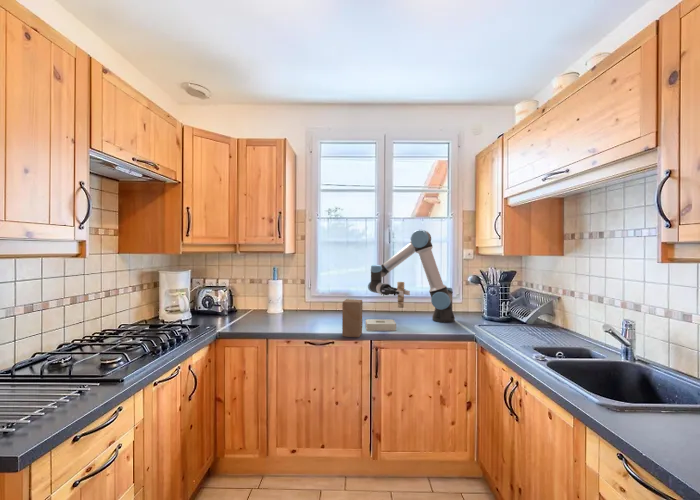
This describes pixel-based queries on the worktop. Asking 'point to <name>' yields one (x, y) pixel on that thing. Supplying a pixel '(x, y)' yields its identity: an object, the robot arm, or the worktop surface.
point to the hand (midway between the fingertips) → (406, 293)
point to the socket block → (380, 325)
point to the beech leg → (400, 298)
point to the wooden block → (352, 318)
